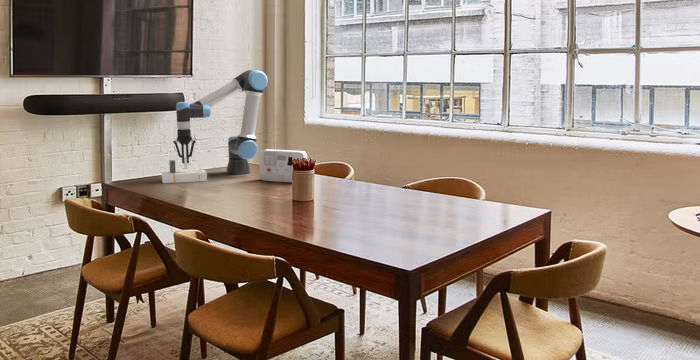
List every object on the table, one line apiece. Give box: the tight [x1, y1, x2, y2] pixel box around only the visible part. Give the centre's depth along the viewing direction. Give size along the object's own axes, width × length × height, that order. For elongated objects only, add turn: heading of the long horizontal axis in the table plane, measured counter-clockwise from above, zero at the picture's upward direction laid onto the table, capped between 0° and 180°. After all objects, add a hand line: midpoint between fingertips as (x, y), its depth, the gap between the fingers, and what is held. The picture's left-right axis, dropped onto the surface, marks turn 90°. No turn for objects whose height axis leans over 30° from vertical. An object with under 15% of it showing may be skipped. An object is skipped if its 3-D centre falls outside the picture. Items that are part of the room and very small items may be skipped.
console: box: [161, 169, 208, 184], centre depth 391 cm, size 25×11×5 cm, turn 108°
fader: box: [168, 159, 177, 173], centre depth 388 cm, size 3×5×11 cm, turn 19°
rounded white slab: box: [258, 148, 308, 183], centre depth 387 cm, size 29×8×18 cm, turn 70°
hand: (185, 168), depth 390 cm, fingers closed
